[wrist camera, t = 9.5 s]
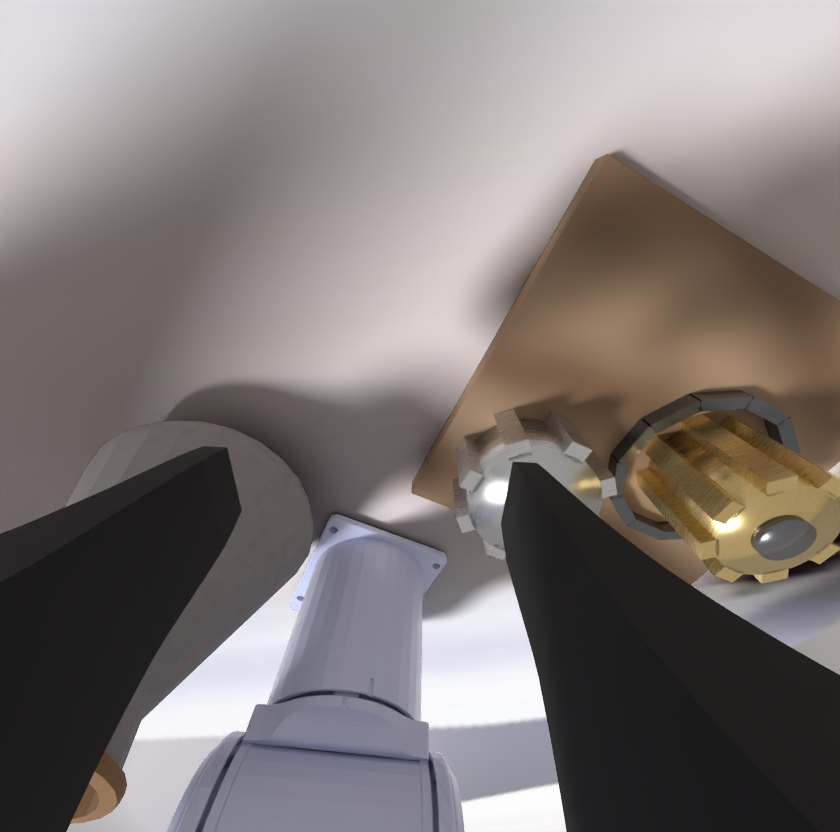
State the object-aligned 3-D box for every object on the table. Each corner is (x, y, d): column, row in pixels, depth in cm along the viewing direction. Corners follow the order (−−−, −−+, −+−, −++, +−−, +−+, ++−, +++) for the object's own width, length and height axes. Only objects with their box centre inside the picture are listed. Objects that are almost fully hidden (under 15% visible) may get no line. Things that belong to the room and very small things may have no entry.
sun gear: (538, 536, 21) (558, 589, 18) (429, 493, 20) (429, 542, 16) (618, 441, 18) (659, 485, 15) (495, 384, 17) (511, 418, 14)
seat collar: (693, 547, 21) (702, 558, 20) (573, 497, 20) (579, 506, 19) (822, 433, 18) (839, 442, 17) (687, 361, 16) (699, 367, 15)
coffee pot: (136, 363, 18) (-765, 746, 4) (352, 445, 20) (190, 889, 6) (116, 612, 27) (-201, 990, 13) (266, 651, 29) (123, 1018, 15)
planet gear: (696, 518, 20) (781, 606, 15) (613, 484, 19) (676, 566, 14) (779, 439, 18) (911, 514, 13) (689, 396, 17) (795, 459, 12)
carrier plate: (668, 582, 24) (677, 595, 23) (412, 482, 21) (411, 492, 20) (921, 363, 17) (949, 370, 16) (595, 159, 14) (607, 154, 13)
